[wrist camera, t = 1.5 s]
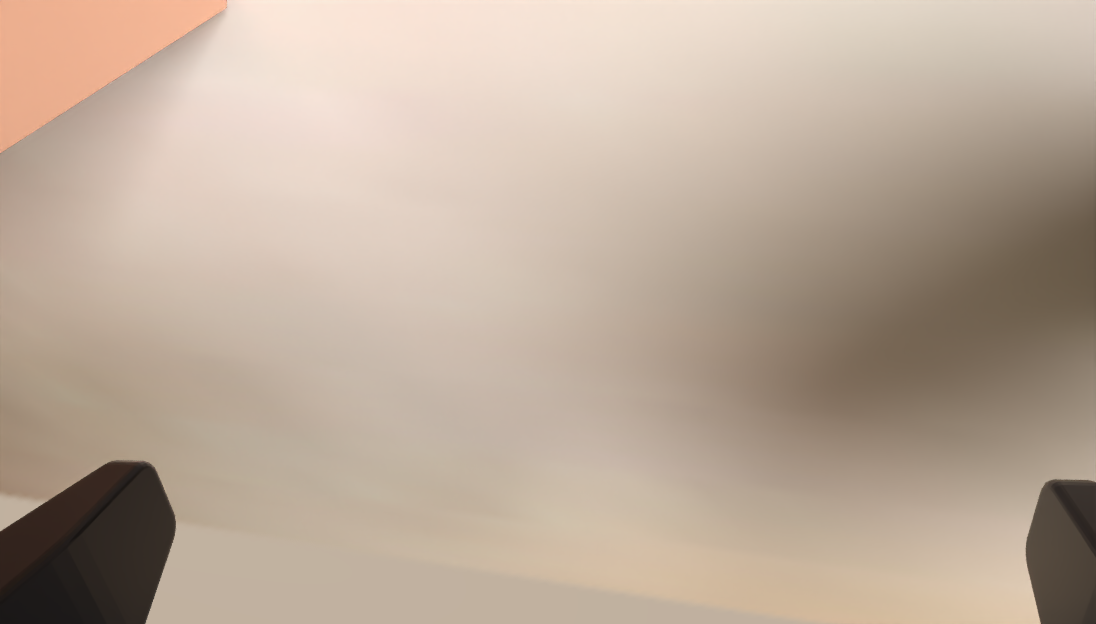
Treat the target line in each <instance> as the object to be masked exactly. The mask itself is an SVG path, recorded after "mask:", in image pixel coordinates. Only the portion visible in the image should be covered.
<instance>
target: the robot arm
mask: <svg viewBox="0 0 1096 624" xmlns="http://www.w3.org/2000/svg"><path fill="white" fill-rule="evenodd" d="M175 529H176V521H175V515H174V512H173V509H172V507H171V505H170V502H169V500H168V497H167V495H166V493H165V490H164V488H163V485H162V483H161V481H160V478H159V476H158V473H157V471H156V469H155V468H154V467H153V466H152V465H151V464H150V463H149V462H145V461H125V460H117V461H111V462H108V463H107V464H105V465H103V466H102V467H100V468H98V469H97V470H95V471H94V472H92V473H91V474H89V475H88V476H86V477H84V478H83V479H81V480H80V481H78V482H77V483H75V484H74V485H72V486H70V487H69V488H67V489H66V490H64V491H63V492H61V493H59V494H58V495H56V496H55V497H53V498H52V499H50V500H49V501H47V502H45V503H44V504H42V505H41V506H39V507H38V508H36V509H35V510H33V511H31V512H30V513H28V514H27V515H25V516H24V517H22V518H20V519H19V520H17V521H16V522H14V523H13V524H11V525H10V526H8V527H7V528H5V529H3V530H2V531H0V624H145V623H146V620H147V616H148V614H149V611H150V608H151V605H152V602H153V599H154V596H155V593H156V590H157V587H158V584H159V581H160V578H161V575H162V572H163V569H164V566H165V563H166V560H167V558H168V554H169V552H170V548H171V546H172V543H173V540H174V536H175ZM1026 561H1027V567H1028V571H1029V575H1030V580H1031V584H1032V588H1033V592H1034V597H1035V601H1036V605H1037V609H1038V614H1039V618H1040V622H1041V624H1096V482H1094V481H1089V480H1051V481H1048V482H1047V483H1045V485H1044V486H1043V488H1042V490H1041V492H1040V495H1039V499H1038V502H1037V506H1036V509H1035V513H1034V516H1033V520H1032V523H1031V526H1030V530H1029V533H1028V537H1027V541H1026Z"/></svg>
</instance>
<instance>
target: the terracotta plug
mask: <svg viewBox="0 0 1096 624" xmlns="http://www.w3.org/2000/svg"><path fill="white" fill-rule="evenodd" d="M226 8H227V0H0V153H1V152H3V151H5V150H6V149H8V148H9V147H11V146H12V145H14V144H15V143H17V142H19V141H20V140H22V139H23V138H25V137H26V136H28V135H29V134H31V133H33V132H34V131H36V130H37V129H39V128H40V127H42V126H43V125H45V124H47V123H48V122H50V121H51V120H53V119H54V118H56V117H57V116H59V115H61V114H62V113H64V112H65V111H67V110H68V109H70V108H72V107H73V106H75V105H76V104H78V103H79V102H81V101H82V100H84V99H86V98H87V97H89V96H90V95H92V94H93V93H95V92H96V91H98V90H100V89H101V88H103V87H104V86H106V85H107V84H109V83H110V82H112V81H114V80H115V79H117V78H118V77H120V76H121V75H123V74H124V73H126V72H128V71H129V70H131V69H132V68H134V67H135V66H137V65H139V64H140V63H142V62H143V61H145V60H146V59H148V58H149V57H151V56H153V55H154V54H156V53H157V52H159V51H160V50H162V49H163V48H165V47H167V46H168V45H170V44H171V43H173V42H174V41H176V40H177V39H179V38H181V37H182V36H184V35H185V34H187V33H188V32H190V31H191V30H193V29H195V28H196V27H198V26H199V25H201V24H202V23H204V22H206V21H207V20H209V19H210V18H212V17H213V16H215V15H216V14H218V13H220V12H221V11H223V10H224V9H226Z"/></svg>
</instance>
